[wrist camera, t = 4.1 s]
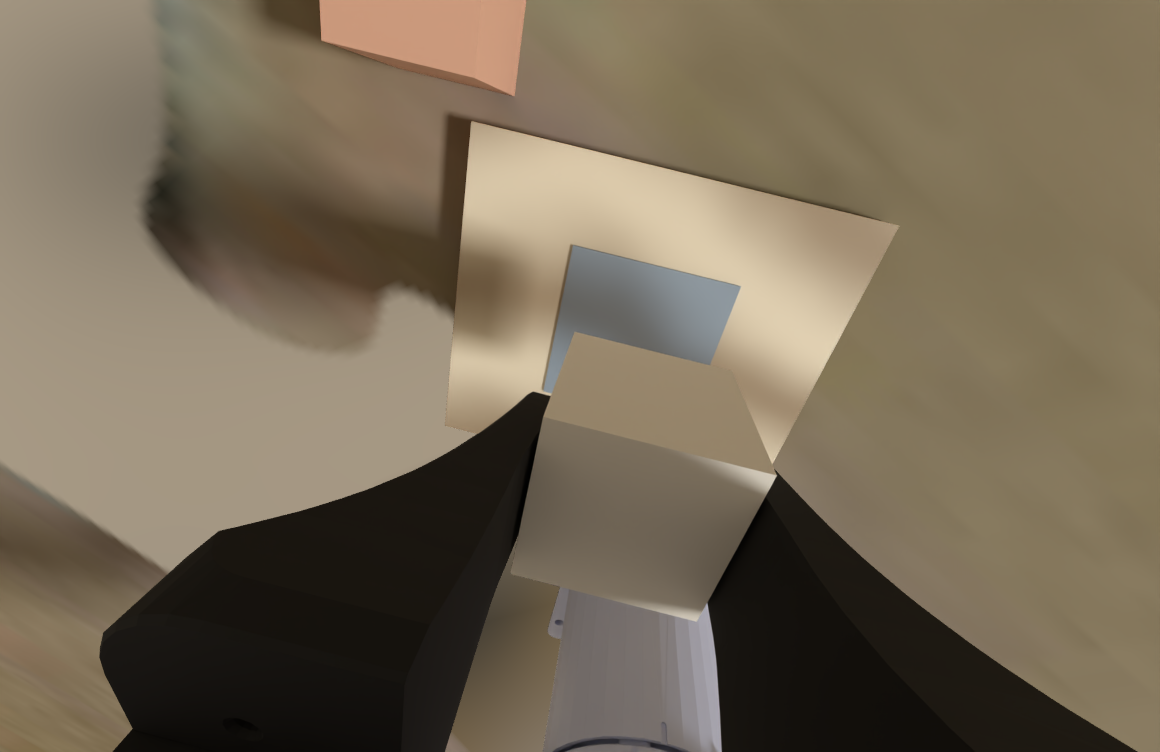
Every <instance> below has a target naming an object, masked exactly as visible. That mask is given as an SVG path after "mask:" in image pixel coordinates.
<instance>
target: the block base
mask: <svg viewBox="0 0 1160 752" xmlns="http://www.w3.org/2000/svg"><path fill="white" fill-rule="evenodd" d="M776 476H777V475H776V472H775V470H774V468H773V465H772V463H771V461H770V458H769V456H768V453H767V451H766V449H765V446H764V444H763V442H762V439H761V437H760V435H759V432H758V430H757V428H756V425H755V423H754V421H753V418H752V416H751V414H750V411H749V409H748V407H747V404H746V402H745V400H744V397H743V395H742V393H741V390H740V388H739V386H738V383H737V381H736V379H735V376H734V374H733V372H732V371H730V370H726V369H722V368H718V367H714V366H710V365H706V364H702V363H698V362H694V361H690V360H686V359H682V358H678V357H674V356H670V355H666V354H662V353H658V352H654V351H650V350H646V349H642V348H638V347H634V346H630V345H626V344H622V343H618V342H614V341H610V340H606V339H602V338H598V337H594V336H590V335H586V334H582V333H578V332H574V335H573V338H572V340H571V343H570V346H569V348H568V351H567V354H566V357H565V359H564V362H563V365H562V367H561V370H560V373H559V375H558V378H557V381H556V384H555V386H554V389H553V392H552V394H551V397H550V400H549V403H548V405H547V408H546V411H545V413H544V416H543V420H542V425H541V430H540V434H539V439H538V444H537V449H536V453H535V458H534V463H533V468H532V472H531V477H530V482H529V487H528V491H527V496H526V501H525V506H524V511H523V515H522V520H521V525H520V530H519V534H518V539H517V544H516V549H515V553H514V558H513V563H512V568H511V572H510V574H512V575H515V576H520V577H523V578H528V579H531V580H535V581H539V582H543V583H547V584H551V585H555V586H559V587H562V588H566V589H570V590H574V591H578V592H582V593H586V594H590V595H594V596H598V597H602V598H605V599H609V600H613V601H617V602H621V603H625V604H629V605H633V606H637V607H641V608H645V609H649V610H652V611H656V612H660V613H664V614H668V615H672V616H676V617H680V618H684V619H688V620H692V621H696V622H697V620H698V619H699V617H700V615H701V613H702V611H703V610H704V608H705V606H706V604H707V602H708V600H709V599H710V597H711V595H712V593H713V591H714V589H715V588H716V586H717V584H718V582H719V580H720V579H721V577H722V575H723V573H724V571H725V569H726V568H727V566H728V564H729V562H730V560H731V558H732V557H733V555H734V553H735V551H736V549H737V548H738V546H739V544H740V542H741V540H742V538H743V537H744V535H745V533H746V531H747V529H748V527H749V526H750V524H751V522H752V520H753V518H754V517H755V515H756V513H757V511H758V509H759V507H760V506H761V504H762V502H763V500H764V498H765V496H766V495H767V493H768V491H769V489H770V487H771V486H772V484H773V482H774V480H775V478H776Z"/></svg>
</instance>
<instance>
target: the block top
mask: <svg viewBox="0 0 1160 752" xmlns="http://www.w3.org/2000/svg"><path fill="white" fill-rule="evenodd" d="M525 6H526V0H320V20H321V41H324V42H327V43H329V44H332V45H335V46H338V47H341V48H343V49H346V50H349V51H352V52H355V53H357V54H360V55H363V56H366V57H369V58H371V59H374V60H377V61H380V62H382V63H385V64H388V65H391V66H394V67H396V68H400V69H404V70H408V71H412V72H416V73H421V74H425V75H429V76H433V77H437V78H441V79H445V80H449V81H453V82H457V83H462V84H466V85H470V86H474V87H478V88H482V89H486V90H490V91H494V92H498V93H503V94H507V95H511V96H514V95H515V87H516V79H517V70H518V62H519V54H520V46H521V38H522V30H523V22H524V14H525Z"/></svg>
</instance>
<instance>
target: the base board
mask: <svg viewBox="0 0 1160 752" xmlns="http://www.w3.org/2000/svg"><path fill="white" fill-rule="evenodd" d="M898 227H899V225H895V224H891V223H887V222H884V221H880V220H876V219H871V218H867V217H863V216H859V215H855V214H851V213H847V212H843V211H839V210H835V209H830V208H826V207H822V206H818V205H814V204H810V203H806V202H802V201H798V200H794V199H790V198H785V197H781V196H777V195H773V194H769V193H765V192H761V191H757V190H753V189H749V188H745V187H740V186H736V185H732V184H728V183H724V182H720V181H716V180H712V179H708V178H704V177H700V176H695V175H691V174H687V173H683V172H679V171H675V170H671V169H667V168H663V167H659V166H654V165H650V164H646V163H642V162H638V161H634V160H630V159H626V158H622V157H618V156H614V155H609V154H605V153H601V152H597V151H593V150H589V149H585V148H581V147H577V146H573V145H569V144H564V143H560V142H556V141H552V140H548V139H544V138H540V137H536V136H532V135H528V134H523V133H519V132H515V131H511V130H507V129H503V128H499V127H495V126H491V125H487V124H483V123H478V122H473V121H471V130H470V142H469V153H468V165H467V177H466V188H465V200H464V211H463V223H462V234H461V246H460V258H459V269H458V281H457V292H456V304H455V315H454V327H453V339H452V350H451V362H450V373H449V385H448V397H447V408H446V420H445V426H449V427H453V428H457V429H461V430H464V431H468V432H473V433H477V434H478V433H480V432H481V431H483V430H484V429H485V428H487V427H488V426H489V425H491V424H492V423H493V422H495V421H496V420H497V419H499V418H500V417H501V416H503V415H504V414H505V413H507V412H508V411H509V410H510V409H511V408H513V407H514V406H515V405H516V404H517V403H519V402H520V401H521V400H522V399H523V398H524V397H525V396H526V395H527V394H529V393H531V392H537V393H541V394H545V395H549V396H551V394H552V392H553V389H554V386H555V384H556V381H557V378H558V375H559V373H560V370H561V367H562V365H563V362H564V359H565V357H566V354H567V351H568V348H569V346H570V343H571V340H572V338H573V335H574V332H578V333H582V334H586V335H590V336H594V337H598V338H602V339H606V340H610V341H614V342H618V343H622V344H626V345H630V346H634V347H638V348H642V349H646V350H650V351H654V352H658V353H662V354H666V355H670V356H674V357H678V358H682V359H686V360H690V361H694V362H698V363H702V364H706V365H710V366H714V367H718V368H722V369H726V370H730V371H732V372H733V374H734V376H735V379H736V381H737V383H738V386H739V388H740V390H741V393H742V395H743V397H744V400H745V402H746V404H747V407H748V409H749V411H750V414H751V416H752V418H753V421H754V423H755V425H756V428H757V430H758V432H759V435H760V437H761V439H762V442H763V444H764V446H765V449H766V451H767V453H768V456H769V458H770V461H771V463H772V464H773V462H774V460H775V458H776V456H777V455H778V453H779V451H780V449H781V447H782V445H783V443H784V441H785V440H786V438H787V436H788V434H789V432H790V430H791V428H792V426H793V424H794V423H795V421H796V419H797V417H798V415H799V413H800V411H801V409H802V408H803V406H804V404H805V402H806V400H807V398H808V396H809V394H810V393H811V391H812V389H813V387H814V385H815V383H816V381H817V379H818V378H819V376H820V374H821V372H822V370H823V368H824V366H825V364H826V363H827V361H828V359H829V357H830V355H831V353H832V351H833V349H834V348H835V346H836V344H837V342H838V340H839V338H840V336H841V334H842V333H843V331H844V329H845V327H846V325H847V323H848V321H849V319H850V318H851V316H852V314H853V312H854V310H855V308H856V306H857V304H858V302H859V301H860V299H861V297H862V295H863V293H864V291H865V289H866V287H867V286H868V284H869V282H870V280H871V278H872V276H873V274H874V272H875V271H876V269H877V267H878V265H879V263H880V261H881V259H882V257H883V256H884V254H885V252H886V250H887V248H888V246H889V244H890V242H891V241H892V239H893V237H894V235H895V233H896V231H897V229H898Z"/></svg>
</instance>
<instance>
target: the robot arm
mask: <svg viewBox="0 0 1160 752" xmlns="http://www.w3.org/2000/svg"><path fill="white" fill-rule="evenodd" d="M550 397H551V396H549V395H545V394H541V393H537V392H531V393H529V394H527V395H526V396H525V397H524V398H523V399H522V400H521V401H520V402H519V403H517V404H516V405H515V406H514V407H513V408H511V409H510V410H509V411H508V412H507V413H505V414H504V415H503V416H501V417H500V418H499V419H497V420H496V421H495V422H493V423H492V424H491V425H489V426H488V427H487V428H485V429H484V430H483V431H481V432H480V433H478V434H477V435H475V436H474V437H472V438H470V439H469V440H467V441H466V442H464V443H463V444H461V445H460V446H458V447H456V448H455V449H453V450H451V451H450V452H448V453H446V454H444V455H443V456H441V457H439V458H437V459H435V460H433V461H431V462H429V463H428V464H426V465H424V466H422V467H420V468H418V469H416V470H413V471H411V472H409V473H407V474H404V475H402V476H399V477H397V478H395V479H392V480H390V481H387V482H385V483H382V484H380V485H378V486H375V487H373V488H370V489H368V490H365V491H362V492H359V493H356V494H353V495H351V496H347V497H345V498H342V499H338V500H335V501H332V502H329V503H326V504H322V505H319V506H316V507H313V508H309V509H306V510H303V511H299V512H295V513H291V514H287V515H283V516H279V517H275V518H271V519H267V520H263V521H259V522H255V523H251V524H247V525H243V526H239V527H235V528H230V529H226V530H222V531H219V532H217V533H216V534H215V535H213V536H212V537H211V538H210V539H208V540H207V541H206V542H205V543H203V545H201V546H200V547H199V548H197V549H196V550H195V551H194V552H192V553H191V554H190V555H189V556H187V557H186V558H185V559H184V560H183V561H182V562H181V563H180V564H179V565H177V566H176V567H175V568H174V569H173V570H172V571H171V572H170V573H169V574H167V575H166V576H165V577H164V578H163V579H162V580H161V581H160V582H159V583H158V584H156V585H155V586H154V587H153V588H152V589H151V590H150V591H149V592H148V593H147V594H145V595H144V596H143V597H142V598H141V599H140V600H139V601H138V602H137V603H136V604H134V605H133V606H132V607H131V608H130V609H129V610H128V611H127V612H126V613H125V614H123V615H122V616H121V617H120V618H119V619H118V620H117V621H116V622H115V623H113V624H112V625H111V626H110V627H109V628H108V629H107V630H106V631H105V632H104V633H103V637H102V641H101V646H100V661H101V664H102V667H103V670H104V674H105V676H106V678H107V680H108V681H109V683H110V685H111V687H112V689H113V691H114V693H115V695H116V697H117V699H118V701H119V703H120V705H121V707H122V709H123V711H124V712H125V714H126V716H127V718H128V720H129V722H130V724H131V726H132V728H133V729H132V730H131V731H130V733H129V734H128V735H127V736H126V737H125V738H124V739H123V741H122V742H121V743H120V744H119V745H118V746H117V747H116V748H115V750H114V751H113V752H445V749H446V746H447V743H448V740H449V736H450V733H451V730H452V726H453V723H454V720H455V717H456V713H457V710H458V707H459V703H460V700H461V697H462V694H463V691H464V687H465V684H466V681H467V678H468V674H469V671H470V668H471V665H472V661H473V658H474V655H475V652H476V649H477V645H478V642H479V639H480V636H481V633H482V629H483V626H484V623H485V620H486V617H487V614H488V610H489V607H490V604H491V601H492V598H493V596H494V593H495V590H496V588H497V585H498V582H499V580H500V578H501V575H502V573H503V570H504V568H505V566H506V563H507V561H508V558H509V556H510V553H511V551H512V549H513V546H514V544H515V542H516V539H517V537H518V534H519V530H520V525H521V520H522V515H523V511H524V506H525V501H526V496H527V491H528V487H529V482H530V477H531V472H532V468H533V463H534V458H535V453H536V449H537V444H538V439H539V434H540V430H541V425H542V420H543V416H544V413H545V411H546V408H547V405H548V403H549V400H550ZM774 470H775V469H774ZM775 472H776V475H777V476H776V478H775V480H774V482H773V484H772V486H771V487H770V489H769V491H768V493H767V495H766V496H765V498H764V500H763V502H762V504H761V506H760V507H759V509H758V511H757V513H756V515H755V517H754V518H753V520H752V522H751V524H750V526H749V527H748V529H747V531H746V533H745V535H744V537H743V538H742V540H741V542H740V544H739V546H738V548H737V549H736V551H735V553H734V555H733V557H732V558H731V560H730V562H729V564H728V566H727V568H726V569H725V571H724V573H723V575H722V577H721V579H720V580H719V582H718V584H717V586H716V588H715V589H714V591H713V593H712V595H711V597H710V599H709V600H708V602H707V604H706V606H705V608H704V610H703V611H702V613H701V615H700V617H699V619H698V620H697V622H696V621H692V620H688V619H684V618H680V617H676V616H672V615H668V614H664V613H660V612H656V611H652V610H649V609H645V608H641V607H637V606H633V605H629V604H625V603H621V602H617V601H613V600H609V599H605V598H602V597H598V596H594V595H590V594H586V593H582V592H578V591H574V590H570V589H566V588H562V587H560V588H559V592H558V595H557V599H556V602H555V606H554V609H553V612H552V616H551V619H550V622H549V626H548V633H549V635H550V636H552V637H554V638H558V639H561V643H560V649H559V656H558V662H557V667H556V673H555V679H554V686H553V692H552V698H551V704H550V710H549V716H548V722H547V728H546V735H545V741H544V748H543V752H1137V751H1135V750H1134V749H1132V748H1130V747H1129V746H1127V745H1126V744H1124V743H1122V742H1121V741H1119V740H1117V739H1116V738H1114V737H1112V736H1111V735H1109V734H1108V733H1106V732H1104V731H1103V730H1101V729H1099V728H1098V727H1096V726H1094V725H1093V724H1091V723H1090V722H1088V721H1086V720H1085V719H1083V718H1081V717H1080V716H1078V715H1076V714H1075V713H1073V712H1072V711H1070V710H1068V709H1067V708H1065V707H1064V706H1062V705H1060V704H1059V703H1057V702H1056V701H1054V700H1053V699H1051V698H1050V697H1048V696H1047V695H1045V694H1044V693H1042V692H1041V691H1039V690H1038V689H1036V688H1035V687H1033V686H1032V685H1030V684H1029V683H1027V682H1026V681H1024V680H1023V679H1021V678H1020V677H1018V676H1017V675H1015V674H1014V673H1012V672H1011V671H1009V670H1008V669H1006V668H1005V667H1003V666H1002V665H1000V664H999V663H997V662H996V661H995V660H993V659H992V658H990V657H989V656H987V655H986V654H985V653H983V652H982V651H980V650H979V649H977V648H976V647H975V646H973V645H972V644H970V643H969V642H968V641H966V640H965V639H964V638H962V637H961V636H960V635H958V634H957V633H956V632H954V631H953V630H952V629H950V628H949V627H948V626H946V625H945V624H943V623H942V622H941V621H939V620H938V619H937V618H935V617H934V616H933V615H931V614H930V613H929V612H927V611H926V610H925V609H924V608H922V607H921V606H920V605H918V604H917V603H916V602H915V601H913V600H912V599H911V598H910V597H908V596H907V595H906V594H905V593H903V592H902V591H901V590H900V589H899V588H897V587H896V586H895V585H894V584H893V583H892V582H890V581H889V580H888V579H887V578H886V577H884V576H883V575H882V574H881V573H880V572H878V571H877V570H876V569H875V568H874V567H873V566H871V565H870V564H869V563H868V562H867V561H866V560H865V559H863V558H862V557H861V556H860V555H859V554H858V553H857V552H856V551H855V550H854V549H852V548H851V547H850V546H849V545H848V544H847V543H846V542H845V541H844V540H843V539H842V538H841V537H840V536H839V535H838V534H837V533H836V532H835V531H834V530H833V529H832V528H830V527H829V526H828V525H827V524H826V523H825V522H824V521H823V520H822V519H821V518H820V517H819V516H818V515H817V514H816V513H815V511H814V510H813V509H812V508H811V507H810V506H809V505H808V504H807V503H806V502H805V501H804V500H803V499H802V498H801V497H800V496H799V495H798V494H797V493H796V492H795V491H794V490H793V488H792V487H791V486H790V485H789V484H788V483H787V482H786V481H785V480H784V479H783V478H782V477H781V476H780V475H779V473H778V472H777V471H776V470H775Z"/></svg>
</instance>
